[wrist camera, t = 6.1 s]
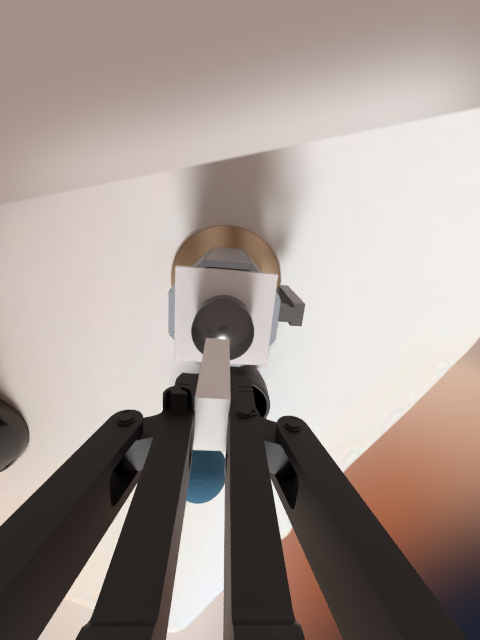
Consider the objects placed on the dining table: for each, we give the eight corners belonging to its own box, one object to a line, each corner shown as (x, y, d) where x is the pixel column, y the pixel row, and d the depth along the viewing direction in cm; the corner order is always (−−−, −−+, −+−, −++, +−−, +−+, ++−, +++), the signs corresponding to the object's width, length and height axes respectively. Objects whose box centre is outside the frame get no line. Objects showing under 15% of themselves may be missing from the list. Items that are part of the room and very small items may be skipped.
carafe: (190, 313, 42) (166, 366, 27) (192, 244, 39) (166, 257, 23) (276, 320, 43) (302, 374, 27) (285, 252, 40) (321, 270, 24)
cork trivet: (171, 328, 44) (170, 330, 43) (172, 220, 39) (171, 220, 38) (272, 335, 45) (273, 337, 44) (286, 230, 39) (287, 231, 39)
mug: (184, 368, 46) (172, 403, 37) (252, 342, 45) (257, 371, 36) (204, 407, 49) (198, 448, 40) (269, 383, 47) (278, 420, 38)
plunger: (192, 323, 35) (173, 372, 23) (194, 261, 32) (174, 281, 21) (253, 328, 35) (265, 377, 24) (260, 267, 33) (276, 289, 21)
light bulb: (174, 446, 51) (159, 509, 40) (189, 409, 49) (177, 466, 37) (218, 458, 52) (214, 523, 41) (234, 423, 50) (235, 482, 38)
